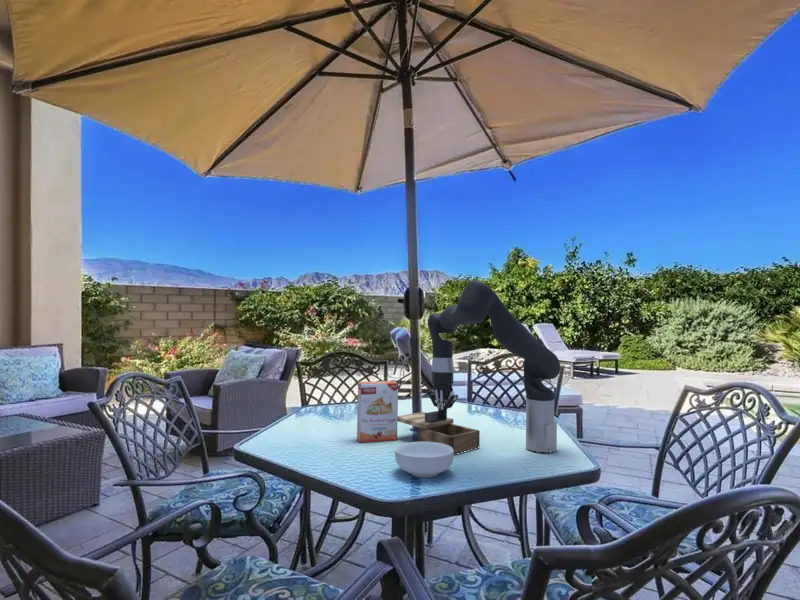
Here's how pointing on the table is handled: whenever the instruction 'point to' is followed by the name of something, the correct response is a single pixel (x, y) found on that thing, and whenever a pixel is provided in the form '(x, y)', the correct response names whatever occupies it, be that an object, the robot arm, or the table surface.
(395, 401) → the cracker box
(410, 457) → the cereal bowl
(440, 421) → the beige cabinet door
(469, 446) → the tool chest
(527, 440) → the robot arm
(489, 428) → the table surface
